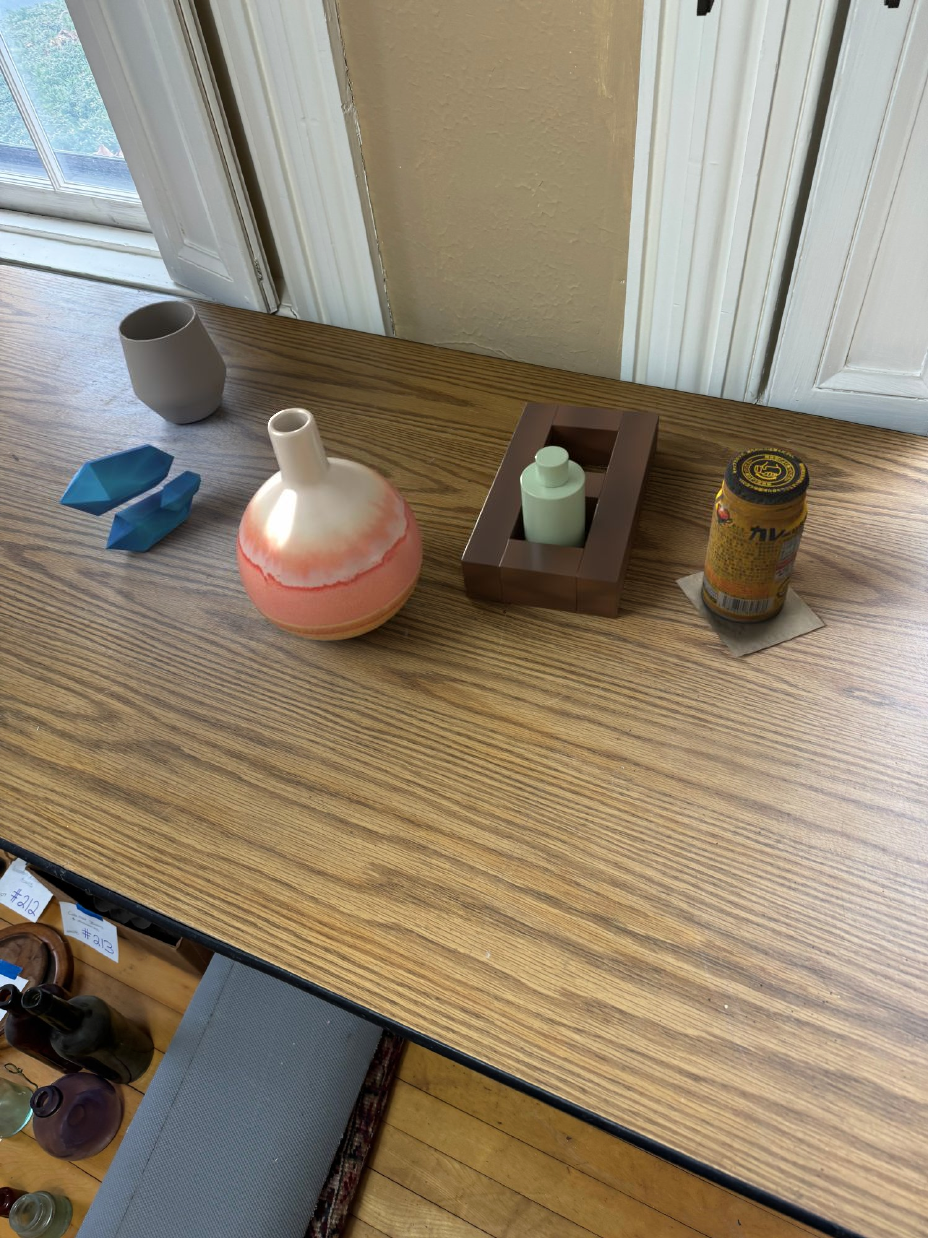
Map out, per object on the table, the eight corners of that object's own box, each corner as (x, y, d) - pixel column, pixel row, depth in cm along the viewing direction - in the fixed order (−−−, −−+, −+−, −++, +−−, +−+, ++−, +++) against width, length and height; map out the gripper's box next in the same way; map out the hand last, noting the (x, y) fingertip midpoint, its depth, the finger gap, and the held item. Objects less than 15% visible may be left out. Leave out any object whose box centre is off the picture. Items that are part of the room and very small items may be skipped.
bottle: (590, 538, 70) (591, 438, 63) (578, 579, 67) (577, 480, 60) (533, 531, 71) (527, 432, 64) (519, 571, 68) (511, 473, 61)
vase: (465, 578, 69) (436, 389, 55) (362, 699, 62) (301, 516, 48) (335, 526, 74) (281, 344, 61) (227, 632, 67) (140, 452, 54)
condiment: (758, 553, 67) (784, 426, 58) (824, 626, 62) (864, 499, 53) (674, 582, 66) (688, 457, 57) (735, 660, 60) (760, 535, 51)
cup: (248, 382, 92) (219, 294, 84) (220, 435, 85) (185, 345, 78) (167, 383, 93) (130, 296, 86) (133, 435, 87) (91, 347, 80)
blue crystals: (211, 443, 73) (83, 495, 65) (225, 529, 78) (108, 586, 71) (158, 416, 76) (31, 463, 69) (175, 501, 82) (59, 552, 74)
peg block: (656, 450, 77) (659, 412, 74) (615, 619, 64) (617, 582, 61) (528, 438, 80) (526, 401, 77) (466, 596, 67) (460, 560, 64)
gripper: (1106, -544, 34) (965, -23, 47) (667, -461, 39) (647, -7, 52) (1143, -565, 30) (976, 19, 42) (640, -469, 34) (626, 32, 47)
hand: (795, 4), depth 47 cm, fingers open, 9 cm apart
